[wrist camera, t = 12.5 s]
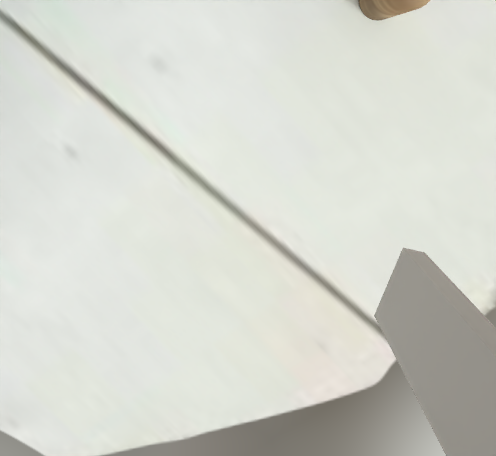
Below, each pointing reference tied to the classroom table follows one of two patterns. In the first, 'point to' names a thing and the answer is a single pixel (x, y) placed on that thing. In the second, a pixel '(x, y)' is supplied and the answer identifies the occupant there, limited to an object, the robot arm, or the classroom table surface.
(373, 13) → the oak dowel
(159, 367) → the classroom table surface
